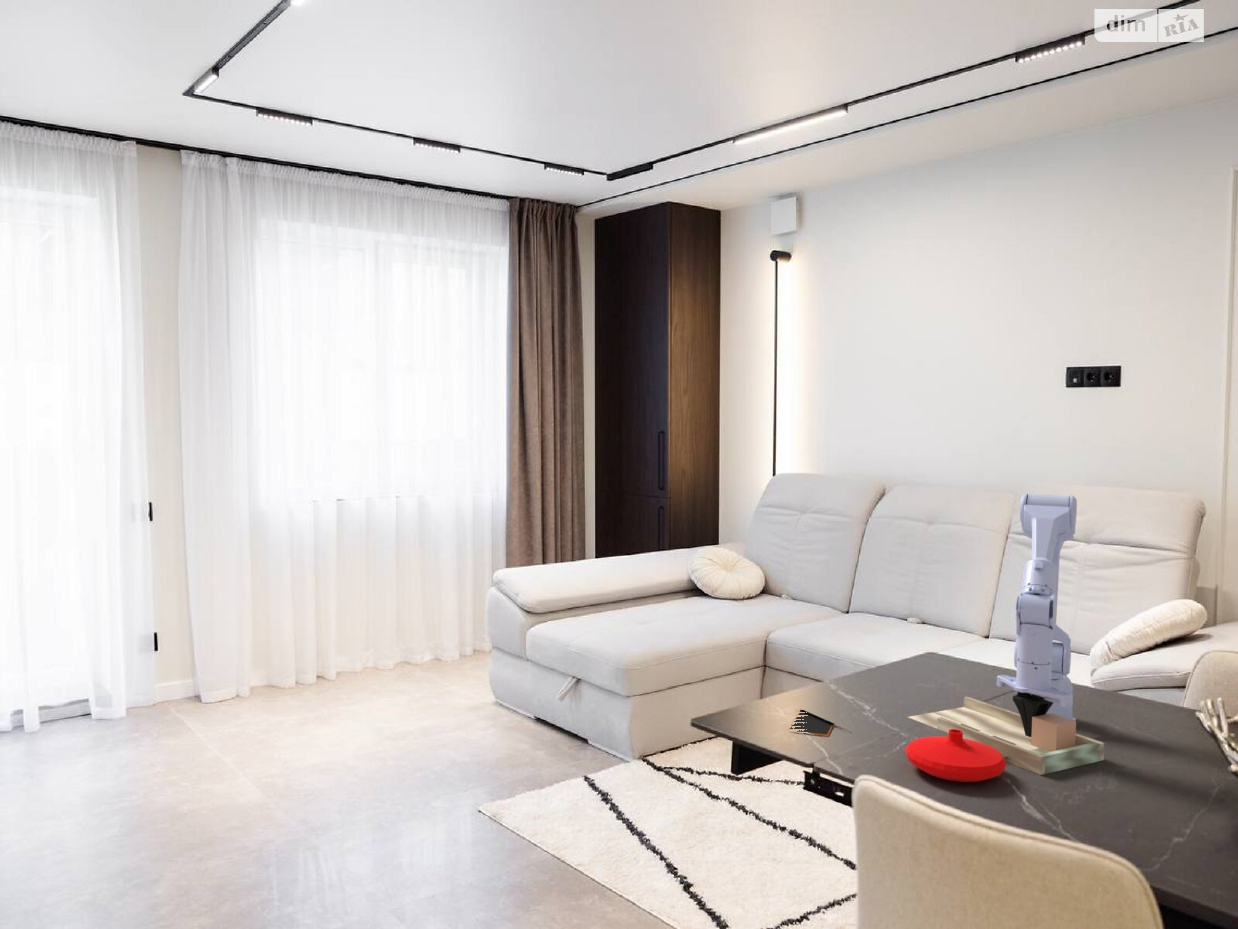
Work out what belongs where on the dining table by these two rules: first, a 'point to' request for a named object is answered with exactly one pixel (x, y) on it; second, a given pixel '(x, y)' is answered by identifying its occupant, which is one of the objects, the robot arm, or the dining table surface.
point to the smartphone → (813, 724)
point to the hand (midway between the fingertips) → (1031, 735)
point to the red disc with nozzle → (955, 757)
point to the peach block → (1053, 732)
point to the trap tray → (1011, 737)
